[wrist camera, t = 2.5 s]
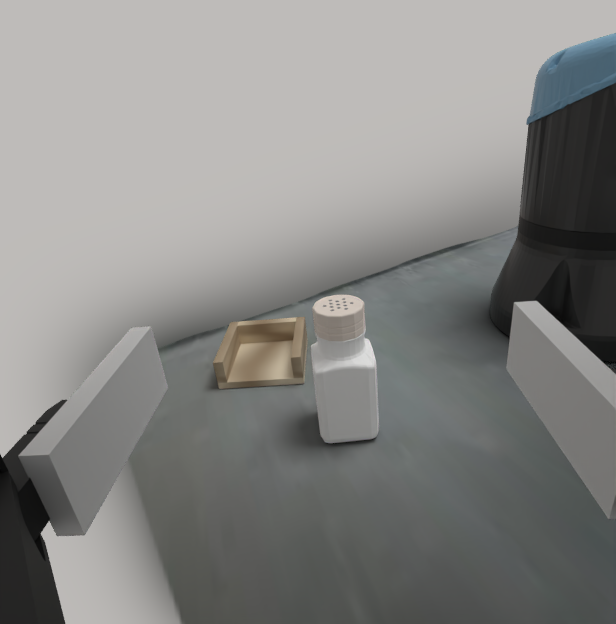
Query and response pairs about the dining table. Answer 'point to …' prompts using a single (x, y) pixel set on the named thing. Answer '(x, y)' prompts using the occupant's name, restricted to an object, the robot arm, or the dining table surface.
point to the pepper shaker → (344, 371)
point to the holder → (262, 353)
